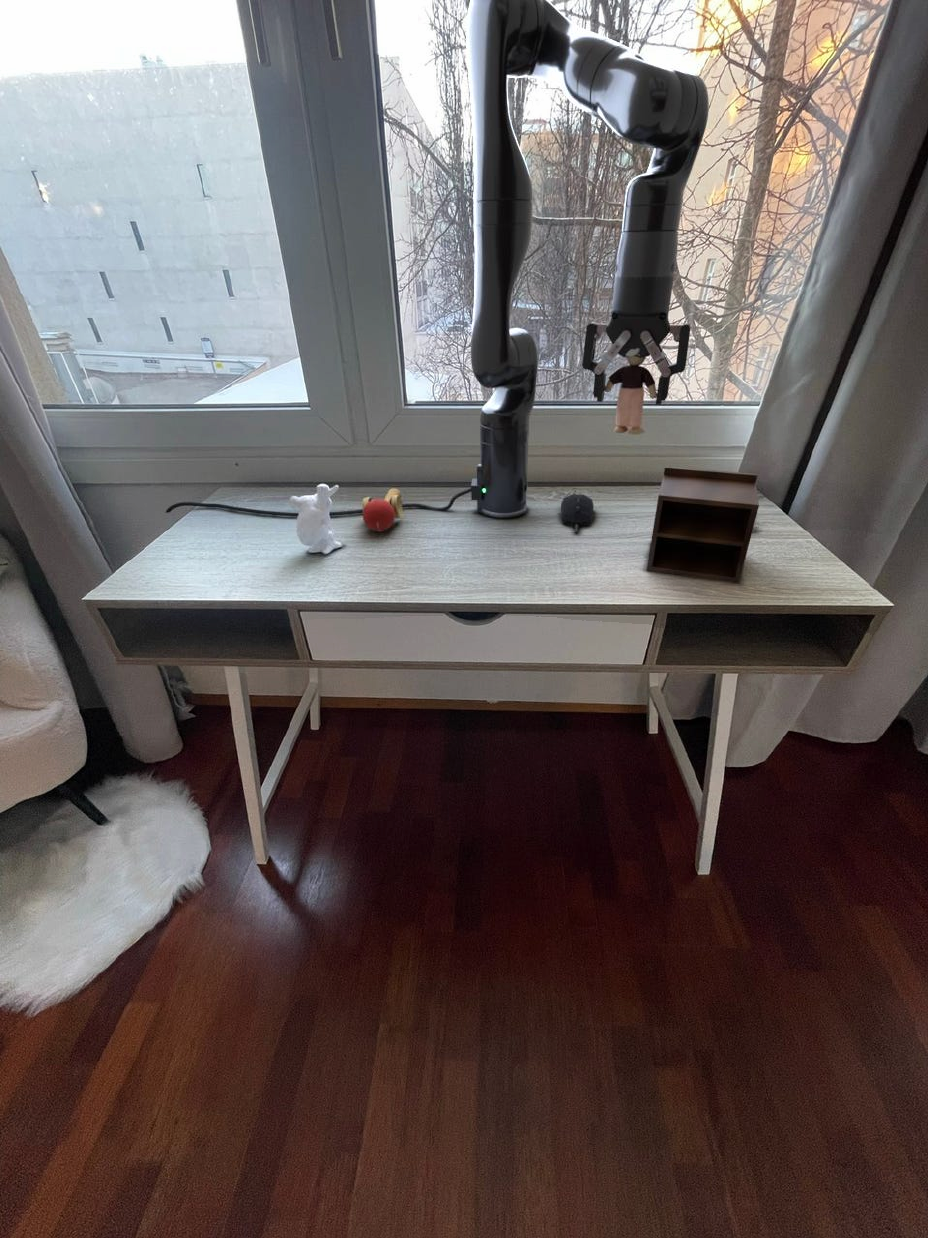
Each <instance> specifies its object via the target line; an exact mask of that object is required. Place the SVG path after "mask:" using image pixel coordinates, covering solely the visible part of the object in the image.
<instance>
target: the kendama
mask: <svg viewBox="0 0 928 1238" xmlns="http://www.w3.org/2000/svg"><path fill="white" fill-rule="evenodd" d="M402 504H403V502H402V493H401V491H400V490H399V489H398V488H394V487H393V488H390V489H389V490H388V492H387V493H386V495H385V497H384V498H383V499H382V498H372V497H370V496H367V497H364V498H363V500H362V509H363V513H362V520H363V521H364V524H365V525H366V527H367V528H369V529H370V530H372V531H374V532H380V533H381V532H384V531H386V530H388V529H390V528H391V527H392V525H394V524H393V523H394V522H395V519H401V518H402V517H403V513H404V507H402Z"/></svg>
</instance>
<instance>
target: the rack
mask: <svg viewBox="0 0 928 1238" xmlns="http://www.w3.org/2000/svg"><path fill="white" fill-rule="evenodd" d="M757 480H758V473H750V472H739V471H729V470H727V471H726V470H715V469H703V468H692V467H691V468H690V467H678V466H669V465H665V466H664V470H663V476H662V480H661V484H660V488H659V492H658V496H657V502H656V509H655V515H654V519H653V521H654V522H653V527H652V532H651V539H650V544H649V545H650V546H649V552H648V558H647V564H646V571H648V572H656V573H663V574H669V575H678V576H685V577H692V578H700V579H705V580H714V581H722V582H729V583H736V584H739V583H740V581H741V577H742V573H743V569H744V565H745V562H746V559H747V558H746V557H747V554H748V550H749V546H750V542H751V539H752V535H753V532H754V530H753V527H754V526H755V523H756V519H757V515H758V512H759V507H760V503H759V496H758V491H757V490H758V489H757Z"/></svg>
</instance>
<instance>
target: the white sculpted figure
mask: <svg viewBox="0 0 928 1238" xmlns="http://www.w3.org/2000/svg"><path fill="white" fill-rule="evenodd" d="M338 490H339V484H336V485H333V486H332V487H331V488H330V487H329V485H327V484H325V483H320V484H318V485H316V493H314V494H311V495H310V494H309V495H301V496H296V495H292V496H291V497H290V498H289V506H290V508H291V509H292V510H298V509H299V511H298V513H299V514H298V516H296V518H297V519H296V520H297V521H296V536H297V538H298V540H299V542H300V543H301V544H302V545H304V546H306V547H309V548H308V552H309V553H322V554H324V555H327V554H330V553H331V552H332V551H333V550H336V549H339V548H342V547H343V544H342V543H341V542H339V541H336V540H335V538H334V537H335V533H334V529H333V527H332V520H331V516H329V512H331V510H332V505H333V502H332V499H331V496H333V495H334V494H335V493H336V492H337V491H338Z"/></svg>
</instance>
